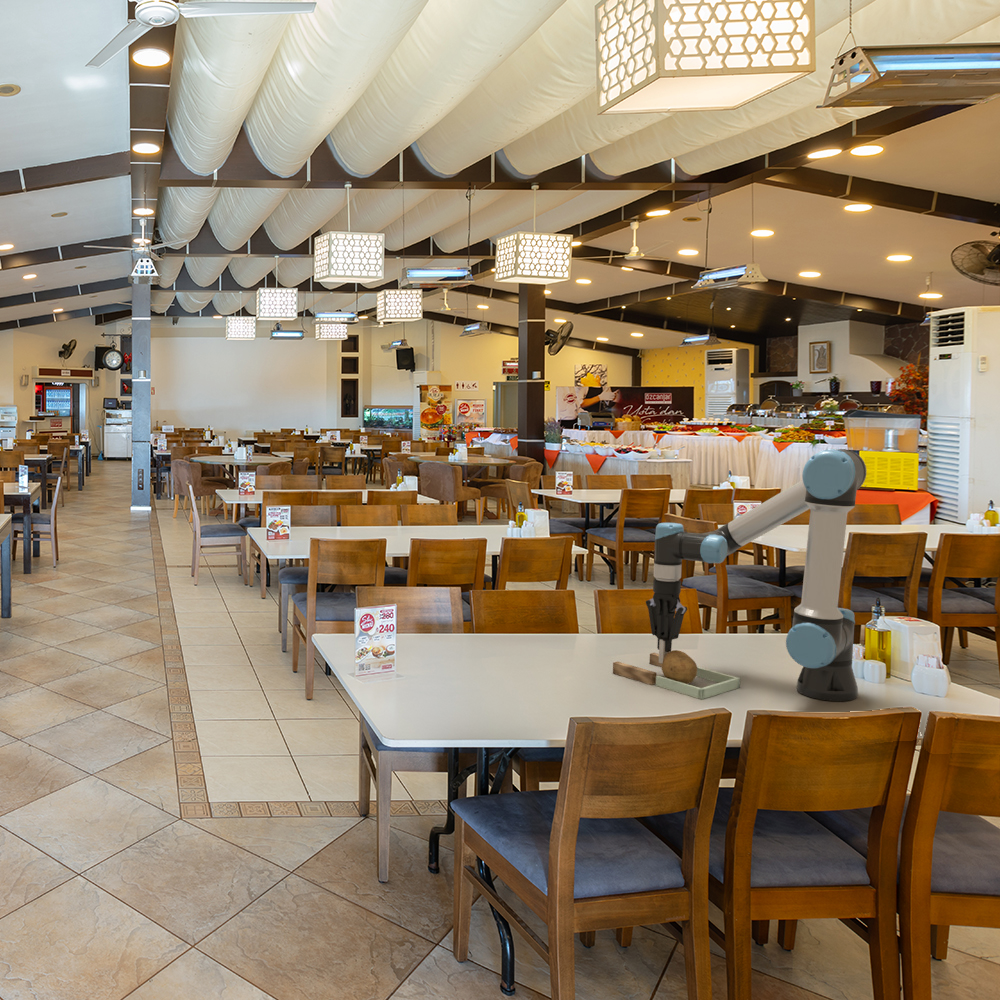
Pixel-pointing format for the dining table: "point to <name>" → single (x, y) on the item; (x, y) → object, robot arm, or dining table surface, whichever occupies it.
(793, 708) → the dining table surface
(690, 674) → the potato
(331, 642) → the dining table surface
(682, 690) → the frame
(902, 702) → the dining table surface
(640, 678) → the channel
